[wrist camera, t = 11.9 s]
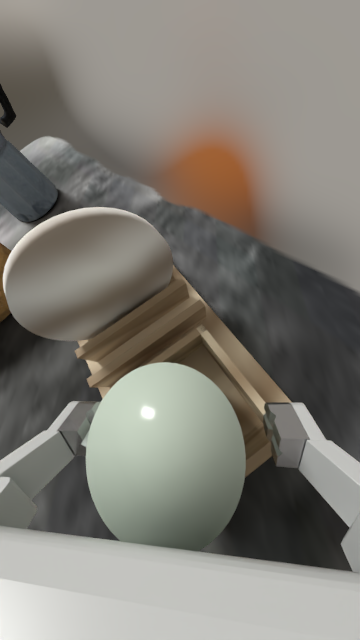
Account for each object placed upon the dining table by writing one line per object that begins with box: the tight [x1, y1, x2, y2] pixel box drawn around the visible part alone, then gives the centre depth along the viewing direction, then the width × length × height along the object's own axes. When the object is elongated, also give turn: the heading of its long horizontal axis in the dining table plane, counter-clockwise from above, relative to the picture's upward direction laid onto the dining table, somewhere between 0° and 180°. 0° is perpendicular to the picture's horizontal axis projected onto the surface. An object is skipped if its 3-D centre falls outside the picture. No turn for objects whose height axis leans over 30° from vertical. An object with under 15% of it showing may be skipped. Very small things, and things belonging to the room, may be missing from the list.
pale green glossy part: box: [86, 362, 246, 551], centre depth 11 cm, size 5×5×11 cm
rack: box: [3, 207, 292, 477], centre depth 13 cm, size 22×14×13 cm, turn 34°
